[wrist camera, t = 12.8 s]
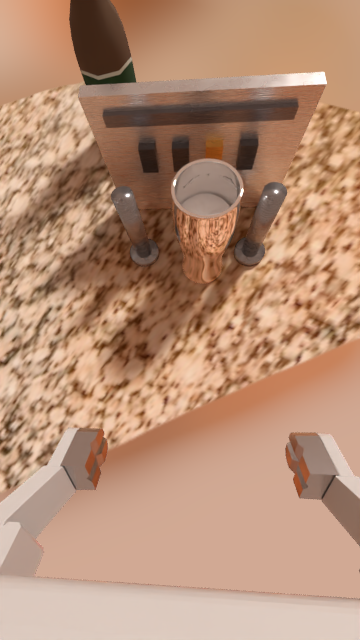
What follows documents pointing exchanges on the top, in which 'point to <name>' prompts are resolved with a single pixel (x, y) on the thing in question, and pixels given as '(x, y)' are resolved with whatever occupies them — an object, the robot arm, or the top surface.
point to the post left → (134, 227)
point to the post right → (260, 225)
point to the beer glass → (205, 215)
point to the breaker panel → (200, 129)
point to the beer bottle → (100, 43)
